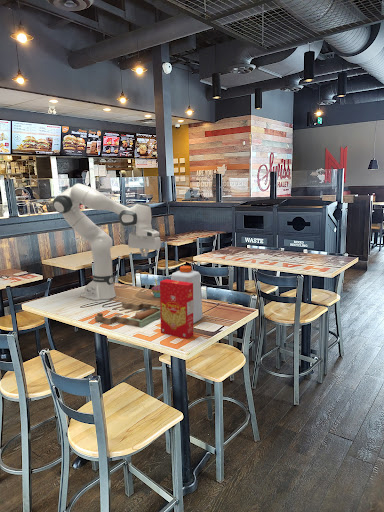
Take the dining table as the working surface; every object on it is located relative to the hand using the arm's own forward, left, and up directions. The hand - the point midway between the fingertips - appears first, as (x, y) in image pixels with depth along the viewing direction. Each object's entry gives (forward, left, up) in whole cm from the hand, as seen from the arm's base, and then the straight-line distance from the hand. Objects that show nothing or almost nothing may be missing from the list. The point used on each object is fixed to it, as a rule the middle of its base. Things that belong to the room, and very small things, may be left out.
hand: (144, 256), depth 218 cm
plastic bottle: (+32, -10, -29) cm, 45 cm away
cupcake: (-4, +20, -29) cm, 36 cm away
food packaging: (+38, -30, -29) cm, 57 cm away
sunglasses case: (+11, -20, -30) cm, 37 cm away
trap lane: (+4, -19, -29) cm, 35 cm away
